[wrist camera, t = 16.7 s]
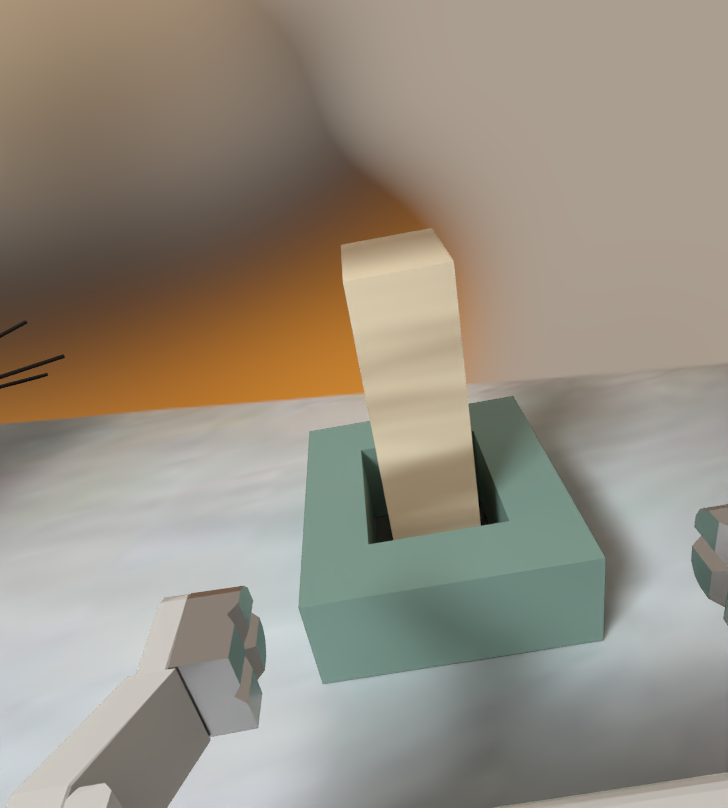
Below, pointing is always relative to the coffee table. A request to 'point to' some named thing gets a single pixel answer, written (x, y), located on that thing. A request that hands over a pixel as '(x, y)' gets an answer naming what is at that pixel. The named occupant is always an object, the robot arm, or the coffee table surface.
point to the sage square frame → (445, 559)
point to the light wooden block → (414, 379)
